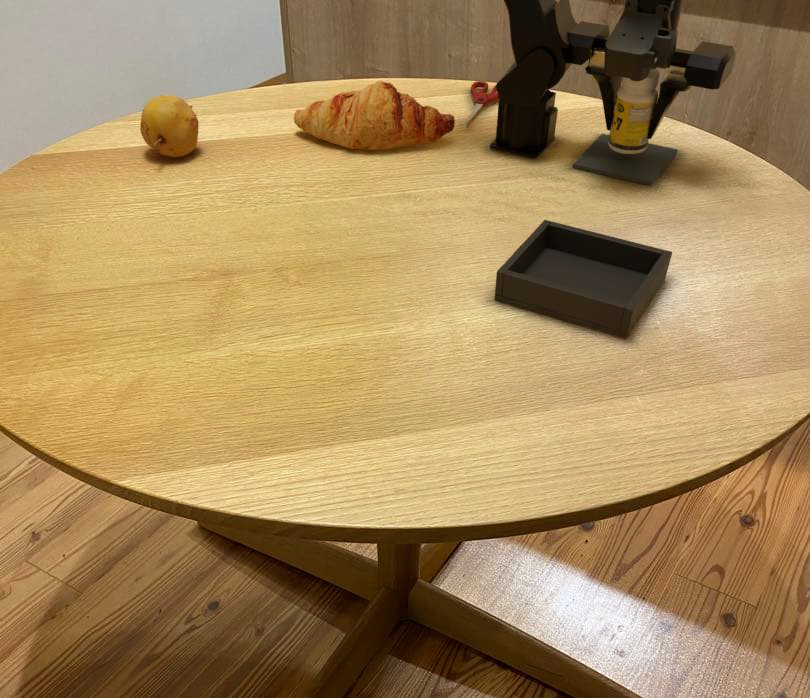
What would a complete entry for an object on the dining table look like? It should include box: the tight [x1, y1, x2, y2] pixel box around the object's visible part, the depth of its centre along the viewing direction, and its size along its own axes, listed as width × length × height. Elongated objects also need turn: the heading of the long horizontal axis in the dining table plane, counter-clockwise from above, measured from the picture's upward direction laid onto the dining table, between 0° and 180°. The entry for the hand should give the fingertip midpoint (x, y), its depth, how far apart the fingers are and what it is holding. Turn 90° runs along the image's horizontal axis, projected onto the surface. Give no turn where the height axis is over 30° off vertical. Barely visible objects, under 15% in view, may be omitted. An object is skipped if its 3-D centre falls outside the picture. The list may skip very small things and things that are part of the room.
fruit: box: [139, 94, 199, 158], centre depth 98 cm, size 7×7×10 cm
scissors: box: [465, 81, 499, 125], centre depth 109 cm, size 5×14×1 cm, turn 161°
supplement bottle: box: [608, 68, 660, 154], centre depth 94 cm, size 5×5×8 cm
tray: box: [494, 219, 673, 340], centre depth 78 cm, size 14×12×3 cm
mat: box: [572, 133, 679, 186], centre depth 98 cm, size 10×10×1 cm
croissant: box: [293, 80, 456, 151], centre depth 101 cm, size 21×10×8 cm, turn 81°
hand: (629, 133), depth 96 cm, fingers closed on supplement bottle, 5 cm apart
